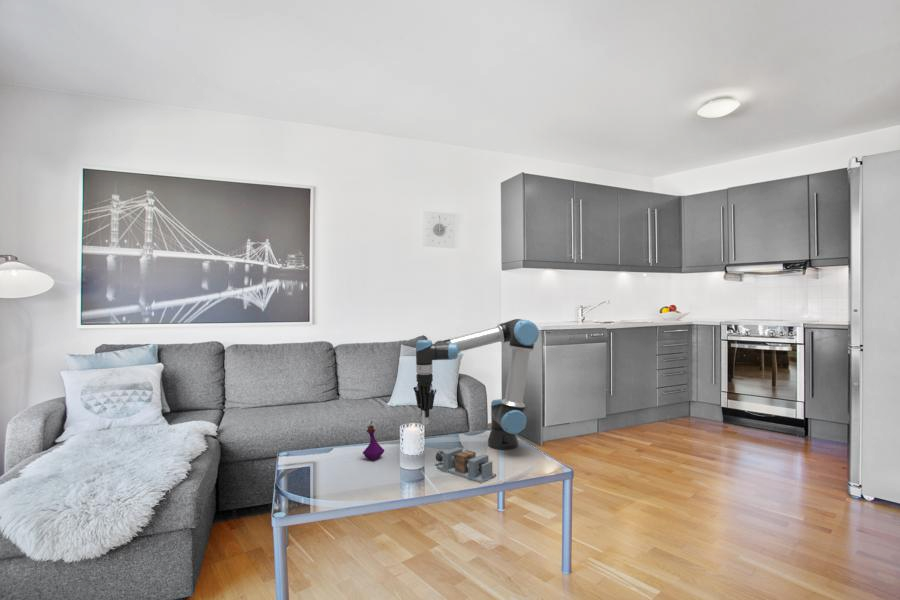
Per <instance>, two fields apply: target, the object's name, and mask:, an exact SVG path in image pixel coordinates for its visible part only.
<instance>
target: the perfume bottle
mask: <svg viewBox="0 0 900 600" xmlns="http://www.w3.org/2000/svg"><path fill="white" fill-rule="evenodd" d="M373 423H374V424H376V426H378V423H379V422H378V420H377V419H372V421H370V425H368V426H367V429H366V433H368V435H369V438H370V442H369V444H368V446H366V448H365V449H364V450H363V452H362V455H363V456H364V457H365V458H366V459H367V460H370V461H376V460H378V459H380V458H381V457H382V456H383V453H384V452H385V449H384V448H383V447H382V446H381V445H380V444H379V443H378V441H377V440H376V437H375V432H376V429H375V428H374V427H375V426H374V425H372V424H373Z"/></svg>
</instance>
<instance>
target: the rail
mask: <svg viewBox="0 0 900 600" xmlns="http://www.w3.org/2000/svg"><path fill="white" fill-rule="evenodd" d="M463 451H464V449H463V447H458V446H457V447H454V448H450V449H449V450H446V451H443V461H442V464H439V465H437V466H436V469H438V470H439V471H444V472H447V473H449V474H453V475H456V476H459V477H462V478H464V477H465V478H464V479H467V478H468V480H470V479H471V480H470V481H473V480H475V481H474V482H476V481H478V482H477V483H479V482H481V483H480V484H483V483H485V482H487V481H489V480H491V479H490V478H492V477H494V478H495V476H496V477H497V473H495V472H493V461H492V460H491V461H490V460H489V455H487V454H485V453H483V454H479V455H477V456H476V457H475V458H472V459H470V460H468V469H467V468H466V473H465V474H463V473H460V472H457V471H455V464H452V456H453V457H455V454H458V453H461V452H463ZM478 464H480V466H481V468H480V471H479V472H478ZM488 479H489V480H488ZM492 479H493V478H492ZM486 480H487V481H486ZM484 481H485V482H484ZM482 482H483V483H482Z"/></svg>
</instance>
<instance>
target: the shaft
mask: <svg viewBox="0 0 900 600" xmlns="http://www.w3.org/2000/svg"><path fill="white" fill-rule="evenodd" d="M443 452H444V451H442V450H438V451H437V452H436V454H435V460H436V462H439V463H443ZM452 464H455V457H453V456H452ZM466 468H467V469H468V461H466ZM480 468H481V466H480V464H478V472H479V471H480Z"/></svg>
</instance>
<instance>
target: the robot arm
mask: <svg viewBox="0 0 900 600" xmlns="http://www.w3.org/2000/svg"><path fill="white" fill-rule="evenodd" d="M539 335H540V332H539V328H538V326H537V325H536V323H534V322H533V321H531V320H528V319H520V318H516V319H515V318H514V319H511V320H508V321H506V322H502V323H498V324H497V325H496V326H495V327H492V328H487V329H483V330H479V331H475V332H471V333H467V334H464V335H463V334H462V335H460V336H454V337H452V338H448V339H444V340H437V341H435V342H434V343H433V341H432V340H431V339H419V340H417V341H416V342H415V362H416V363H415V366H416V373H417V374H416V376H415V377H416V383H417V384H416V386H414V387H413V389H412V390H413V391H414V395H415V400H416V404H417V405H416V406H417V408H418V409H420V412H421V414H420V415H421V425H422V426H423V425H424V426H426V425H429V417H430V410H432V409H433V407H434V402H435V401H434V400H435V397H436V396H435V395H436V393H437V389H436V388H435V389H434V388H433V384H432V382H433V377H434V376H433V375H434V374H433V361H441V360H442V361H446V360H447V361H451V360H457V359H458V357H459V353H460V352H464V351H468V350H473V349H476V348H479V347H484V346H488V345H492V344H495V343H502V344H503V343H504V344H505V343H509V345H508V346H509V348H510V349H511V353H510V360H509V367H508V375H507V381H506V388H505V389H506V390H505V395H504V398H501V399H493V400H491V402H490V403H491V404H490V414H491V415H490V417H491V418H490V419H491V420H490V422H491V425H490V427H491V428H490V433H489V437H488V439H487V445H488V446H489V447H490V448H493V449H496V450H497V449H498V450H512V449H515V448H517V447H519V441H518V438H517V434H520V433H521V432H522V431H523V430H524V429H525V428H526V425H527V416H526V415H525V411H526V404H525V403H524V396H525V388H526V379H527V375H528V374H527V373H528V366H529V360H530V352H532V351H533V350H534V346H535V343H536V342H537V341H538V339H539V337H540V336H539Z"/></svg>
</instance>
